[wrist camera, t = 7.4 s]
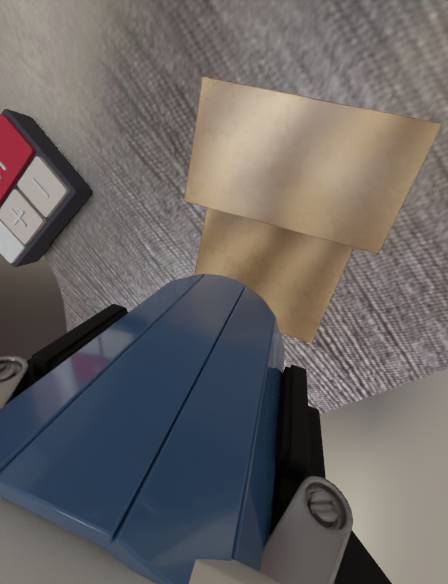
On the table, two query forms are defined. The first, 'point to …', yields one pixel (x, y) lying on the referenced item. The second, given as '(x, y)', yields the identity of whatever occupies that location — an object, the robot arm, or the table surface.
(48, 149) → the calculator
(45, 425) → the cup
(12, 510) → the robot arm
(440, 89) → the table surface
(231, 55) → the table surface
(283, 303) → the step shelf
